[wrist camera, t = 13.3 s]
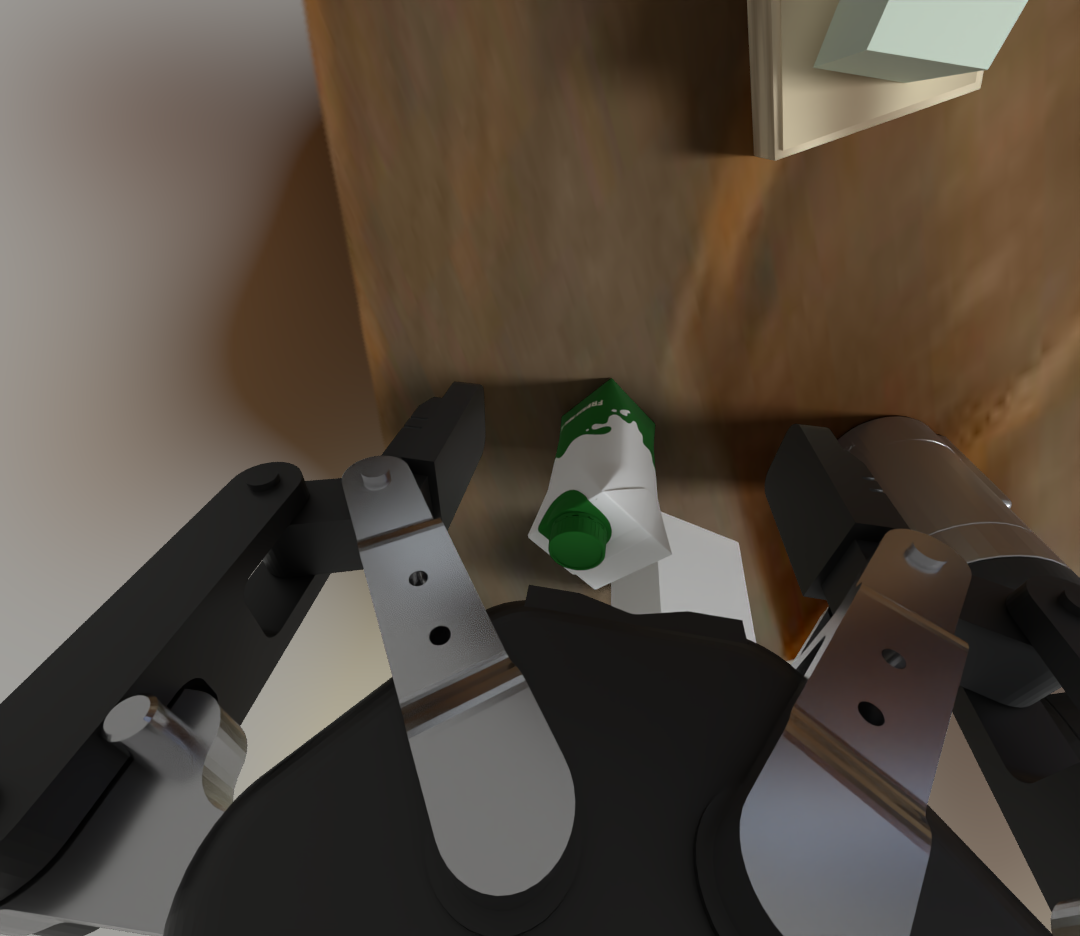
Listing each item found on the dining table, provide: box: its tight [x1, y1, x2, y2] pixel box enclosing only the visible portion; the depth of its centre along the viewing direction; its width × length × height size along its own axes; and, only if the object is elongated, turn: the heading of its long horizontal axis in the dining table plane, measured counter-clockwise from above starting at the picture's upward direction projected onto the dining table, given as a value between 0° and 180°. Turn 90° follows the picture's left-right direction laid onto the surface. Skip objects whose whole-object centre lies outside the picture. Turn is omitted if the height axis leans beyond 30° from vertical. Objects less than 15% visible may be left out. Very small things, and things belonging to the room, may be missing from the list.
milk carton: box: [528, 378, 672, 590], centre depth 38 cm, size 9×9×20 cm
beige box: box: [747, 0, 984, 161], centre depth 25 cm, size 10×10×6 cm
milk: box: [611, 512, 756, 643], centre depth 47 cm, size 12×12×26 cm
